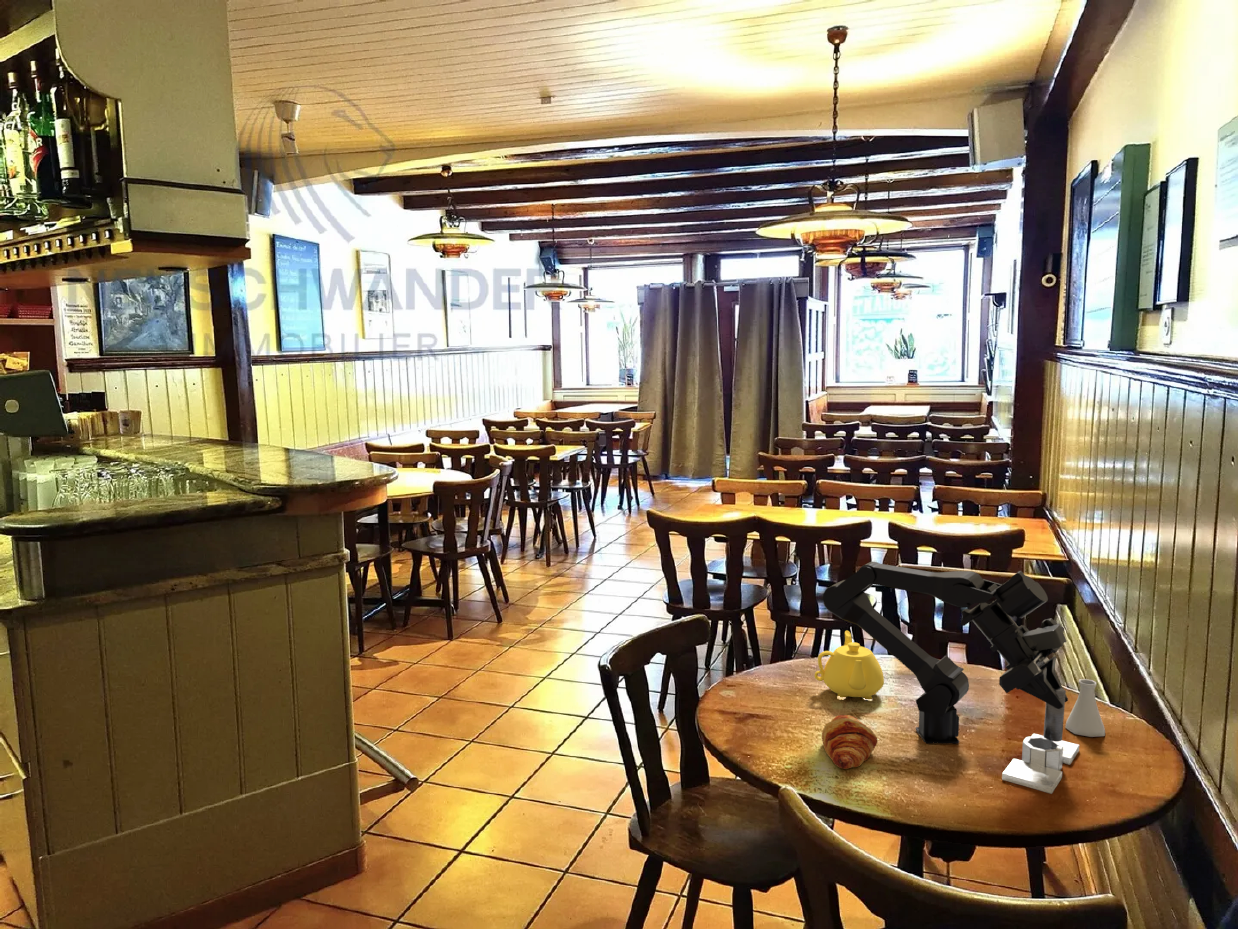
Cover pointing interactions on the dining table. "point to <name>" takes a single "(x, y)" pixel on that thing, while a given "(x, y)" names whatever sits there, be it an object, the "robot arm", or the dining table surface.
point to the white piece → (1040, 763)
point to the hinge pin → (1054, 718)
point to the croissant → (848, 741)
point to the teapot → (851, 670)
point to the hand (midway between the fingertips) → (1063, 704)
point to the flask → (1086, 712)
